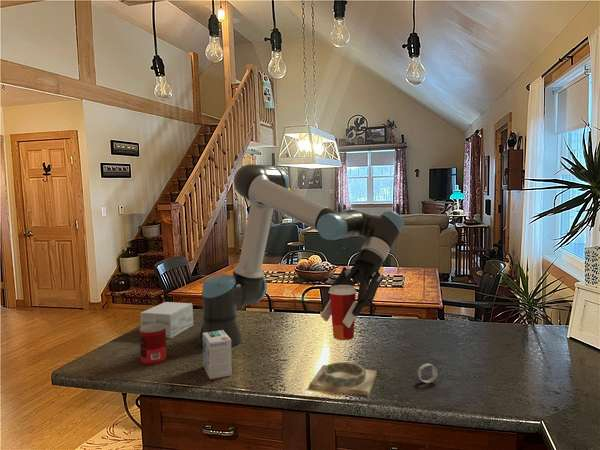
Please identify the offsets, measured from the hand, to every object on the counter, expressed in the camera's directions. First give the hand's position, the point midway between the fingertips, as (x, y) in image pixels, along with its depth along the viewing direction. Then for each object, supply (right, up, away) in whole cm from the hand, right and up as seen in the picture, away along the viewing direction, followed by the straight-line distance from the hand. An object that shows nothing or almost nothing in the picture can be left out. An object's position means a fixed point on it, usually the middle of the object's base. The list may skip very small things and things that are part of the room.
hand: (334, 321), depth 120 cm
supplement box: (-61, -16, +54) cm, 83 cm away
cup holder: (+3, -17, +3) cm, 18 cm away
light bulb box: (-34, -18, +12) cm, 40 cm away
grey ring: (+26, -17, +2) cm, 31 cm away
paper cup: (+3, -5, +3) cm, 6 cm away
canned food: (-56, -17, +22) cm, 63 cm away
